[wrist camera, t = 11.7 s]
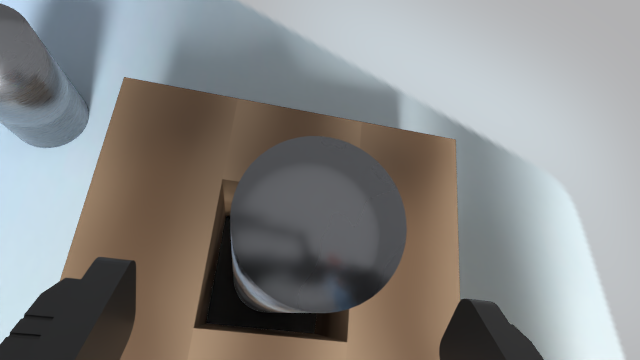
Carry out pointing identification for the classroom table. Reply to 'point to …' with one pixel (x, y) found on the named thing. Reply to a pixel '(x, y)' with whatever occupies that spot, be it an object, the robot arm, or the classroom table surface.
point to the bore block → (215, 204)
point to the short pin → (35, 88)
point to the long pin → (314, 228)
